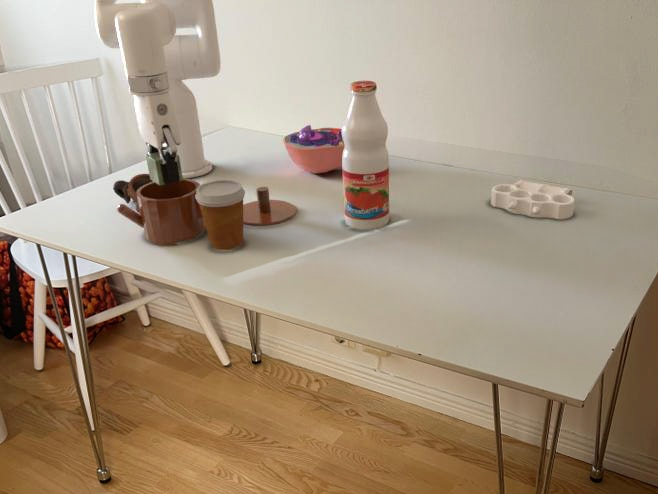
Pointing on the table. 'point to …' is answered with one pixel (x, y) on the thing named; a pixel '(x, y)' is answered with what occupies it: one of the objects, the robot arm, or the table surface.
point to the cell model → (316, 149)
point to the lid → (267, 210)
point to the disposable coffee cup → (222, 212)
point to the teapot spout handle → (130, 214)
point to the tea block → (159, 167)
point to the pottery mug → (131, 188)
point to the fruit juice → (365, 160)
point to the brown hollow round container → (170, 212)
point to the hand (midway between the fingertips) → (166, 177)
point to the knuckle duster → (534, 200)
